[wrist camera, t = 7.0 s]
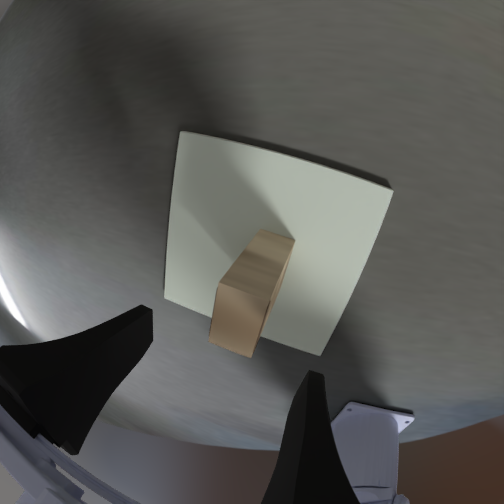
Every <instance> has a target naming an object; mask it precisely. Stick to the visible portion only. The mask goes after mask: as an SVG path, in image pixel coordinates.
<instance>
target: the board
mask: <svg viewBox="0 0 504 504" xmlns="http://www.w3.org/2000/svg"><path fill="white" fill-rule="evenodd" d="M393 192H394V191H393V190H392V189H391V188H388V187H385V186H383V185H380V184H377V183H375V182H372V181H369V180H367V179H364V178H361V177H358V176H355V175H352V174H349V173H346V172H343V171H340V170H337V169H334V168H331V167H328V166H325V165H322V164H318V163H315V162H312V161H309V160H305V159H302V158H298V157H295V156H291V155H288V154H284V153H280V152H277V151H273V150H269V149H265V148H261V147H257V146H253V145H249V144H245V143H241V142H236V141H232V140H228V139H223V138H218V137H214V136H209V135H204V134H199V133H193V132H188V131H180V137H179V143H178V150H177V157H176V164H175V172H174V180H173V189H172V198H171V207H170V218H169V229H168V241H167V256H166V272H165V294H164V298H165V299H168V300H170V301H172V302H175V303H177V304H179V305H182V306H184V307H187V308H189V309H191V310H194V311H196V312H199V313H201V314H204V315H206V316H209V317H211V318H212V314H213V308H214V302H215V296H216V290H217V287H218V283H219V281H220V280H221V279H222V277H223V276H224V275H225V273H226V272H227V271H228V270H229V268H230V267H231V266H232V264H233V263H234V262H235V261H236V259H237V258H238V257H239V255H240V254H241V253H242V252H243V250H244V249H245V248H246V246H247V245H248V244H249V243H250V241H251V240H252V239H253V238H254V236H255V235H256V234H257V232H258V231H259V230H260V229H263V230H266V231H269V232H272V233H275V234H278V235H281V236H285V237H288V238H291V239H294V240H295V244H294V247H293V250H292V253H291V256H290V260H289V263H288V266H287V269H286V272H285V276H284V279H283V282H282V285H281V288H280V291H279V293H278V296H277V298H276V300H275V303H274V305H273V308H272V310H271V312H270V315H269V317H268V319H267V322H266V324H265V326H264V329H263V331H262V333H261V337H264V338H267V339H270V340H273V341H275V342H278V343H281V344H284V345H287V346H290V347H293V348H296V349H299V350H302V351H305V352H308V353H311V354H315V355H318V356H320V355H321V354H322V352H323V350H324V348H325V346H326V344H327V342H328V341H329V339H330V337H331V335H332V333H333V331H334V329H335V327H336V325H337V323H338V321H339V319H340V317H341V315H342V313H343V311H344V309H345V307H346V305H347V303H348V301H349V299H350V296H351V294H352V292H353V290H354V288H355V286H356V284H357V281H358V279H359V277H360V275H361V272H362V270H363V268H364V266H365V263H366V261H367V259H368V256H369V254H370V252H371V249H372V247H373V244H374V242H375V239H376V237H377V234H378V232H379V229H380V227H381V224H382V222H383V219H384V216H385V214H386V211H387V208H388V206H389V203H390V200H391V197H392V194H393Z"/></svg>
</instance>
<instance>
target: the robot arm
mask: <svg viewBox="0 0 504 504" xmlns="http://www.w3.org/2000/svg"><path fill="white" fill-rule="evenodd" d="M152 342H153V310H152V309H150V308H148V307H146V306H144V305H139V306H137V307H135V308H133V309H131V310H129V311H127V312H125V313H123V314H121V315H119V316H117V317H115V318H113V319H111V320H108V321H106V322H104V323H102V324H100V325H97V326H95V327H93V328H90V329H88V330H85V331H83V332H80V333H77V334H74V335H71V336H68V337H64V338H61V339H57V340H52V341H47V342H43V343H36V344H28V345H8V346H5V345H3V346H1V347H0V463H1V464H2V465H3V466H4V468H5V469H6V470H7V471H8V472H9V474H10V475H11V476H12V477H13V478H14V479H15V480H16V481H17V482H18V484H19V485H20V486H21V487H22V488H23V489H24V490H25V491H24V492H23V494H22V495H21V496H20V498H19V499H18V500H17V501H16V503H15V504H87V503H86V502H84V501H83V500H81V497H82V495H83V494H84V491H83V490H82V489H81V488H79V487H78V486H77V485H75V484H74V483H73V482H71V481H70V480H69V479H68V478H67V477H65V476H64V475H63V474H61V473H60V472H59V471H58V470H57V469H56V464H57V465H58V466H60V467H61V468H62V469H63V470H65V471H66V472H67V473H69V474H70V475H71V476H72V477H74V478H75V479H77V480H78V481H79V482H81V483H82V484H83V485H85V486H86V487H88V488H89V489H91V490H92V491H94V492H95V493H97V494H98V495H100V496H101V497H103V498H105V499H106V500H108V501H109V502H111V503H112V504H140V503H138V502H137V501H135V500H133V499H131V498H129V497H127V496H125V495H124V494H122V493H121V492H119V491H117V490H115V489H114V488H112V487H111V486H109V485H107V484H106V483H104V482H103V481H101V480H100V479H98V478H96V477H95V476H94V475H92V474H91V473H89V472H88V471H86V470H85V469H84V468H82V467H81V466H79V465H78V464H77V463H75V462H74V461H72V460H71V459H70V458H68V457H67V456H66V455H65V454H64V453H62V452H61V451H60V450H59V449H57V448H56V447H55V446H54V445H53V443H54V444H56V445H57V446H58V447H59V448H60V447H62V448H63V449H64V450H65V451H66V452H68V453H69V454H70V455H77V454H79V451H80V449H81V447H82V444H83V443H84V440H85V438H86V436H87V434H88V432H89V431H90V429H91V427H92V425H93V423H94V421H95V420H96V418H97V416H98V415H99V413H100V411H101V410H102V408H103V407H104V405H105V403H106V402H107V400H108V399H109V397H110V396H111V394H112V393H113V392H114V390H115V389H116V388H117V387H118V386H119V384H120V383H121V382H122V381H123V380H124V379H125V377H126V376H127V375H128V374H129V373H130V372H131V370H132V369H133V368H134V367H135V366H136V364H137V363H138V362H139V361H140V360H141V358H142V357H143V356H144V354H145V353H146V351H147V350H148V348H149V346H150V345H151V343H152ZM413 420H414V415H412V414H407V413H401V412H396V411H391V410H386V409H382V408H377V407H373V406H368V405H364V404H360V403H356V402H349V403H348V404H347V405H346V406H345V407H344V408H343V410H342V411H341V412H340V413H339V414H338V415H337V417H336V418H335V419H334V420H333V421H332V422H331V423H330V418H329V412H328V407H327V400H326V392H325V381H324V375H323V374H320V373H317V372H314V371H310V370H309V371H308V373H307V375H306V377H305V378H304V380H303V382H302V384H301V386H300V387H299V389H298V391H297V392H296V394H295V396H294V398H293V401H292V404H291V407H290V410H289V413H288V416H287V421H286V425H285V430H284V434H283V439H282V443H281V448H280V452H279V456H278V460H277V464H276V467H275V470H274V472H273V475H272V478H271V481H270V483H269V485H268V488H267V490H266V493H265V495H264V498H263V500H262V502H261V504H409V500H408V499H407V498H406V497H404V495H403V494H401V495H397V493H396V490H397V474H398V444H399V433H400V432H401V431H402V430H403V429H404V428H406V427H407V426H408V425H409V424H410V423H411V422H412V421H413ZM54 462H55V463H56V464H55V463H54Z"/></svg>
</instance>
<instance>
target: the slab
mask: <svg viewBox="0 0 504 504" xmlns="http://www.w3.org/2000/svg"><path fill="white" fill-rule="evenodd" d="M294 244H295V240H294V239H291V238H288V237H285V236H281V235H278V234H275V233H272V232H269V231H266V230H263V229H260V230H259V231H258V232H257V234H256V235H255V236H254V238H253V239H252V240H251V241H250V243H249V244H248V245H247V246H246V248H245V249H244V250H243V252H242V253H241V254H240V255H239V257H238V258H237V259H236V261H235V262H234V263H233V264H232V266H231V267H230V268H229V270H228V271H227V272H226V273H225V275H224V276H223V277H222V279H221V280H220V281H219V283H218V287H217V290H216V296H215V302H214V308H213V314H212V320H211V326H210V332H209V342H210V343H213V344H215V345H218V346H220V347H223V348H225V349H228V350H230V351H233V352H235V353H238V354H241V355H243V356H246V357H249V358H251V356H252V354H253V353H254V351H255V348H256V346H257V343H258V340H259V338H260V336H261V333H262V331H263V329H264V326H265V324H266V322H267V319H268V317H269V315H270V312H271V310H272V308H273V305H274V303H275V300H276V298H277V296H278V293H279V291H280V288H281V285H282V282H283V279H284V276H285V272H286V269H287V266H288V263H289V260H290V256H291V253H292V250H293V247H294Z"/></svg>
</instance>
